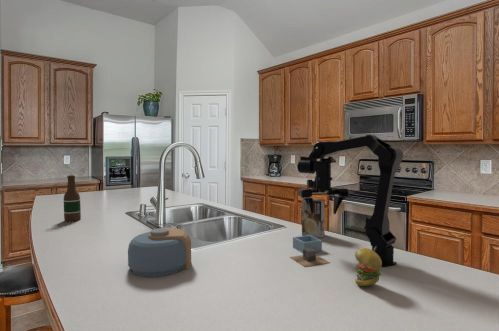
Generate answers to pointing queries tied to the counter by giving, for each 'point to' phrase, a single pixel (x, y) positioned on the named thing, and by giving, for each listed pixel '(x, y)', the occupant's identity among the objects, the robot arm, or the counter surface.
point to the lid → (309, 258)
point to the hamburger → (367, 267)
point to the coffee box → (313, 218)
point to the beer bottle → (72, 201)
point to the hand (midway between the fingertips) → (323, 214)
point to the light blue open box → (307, 243)
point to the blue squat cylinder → (159, 252)
